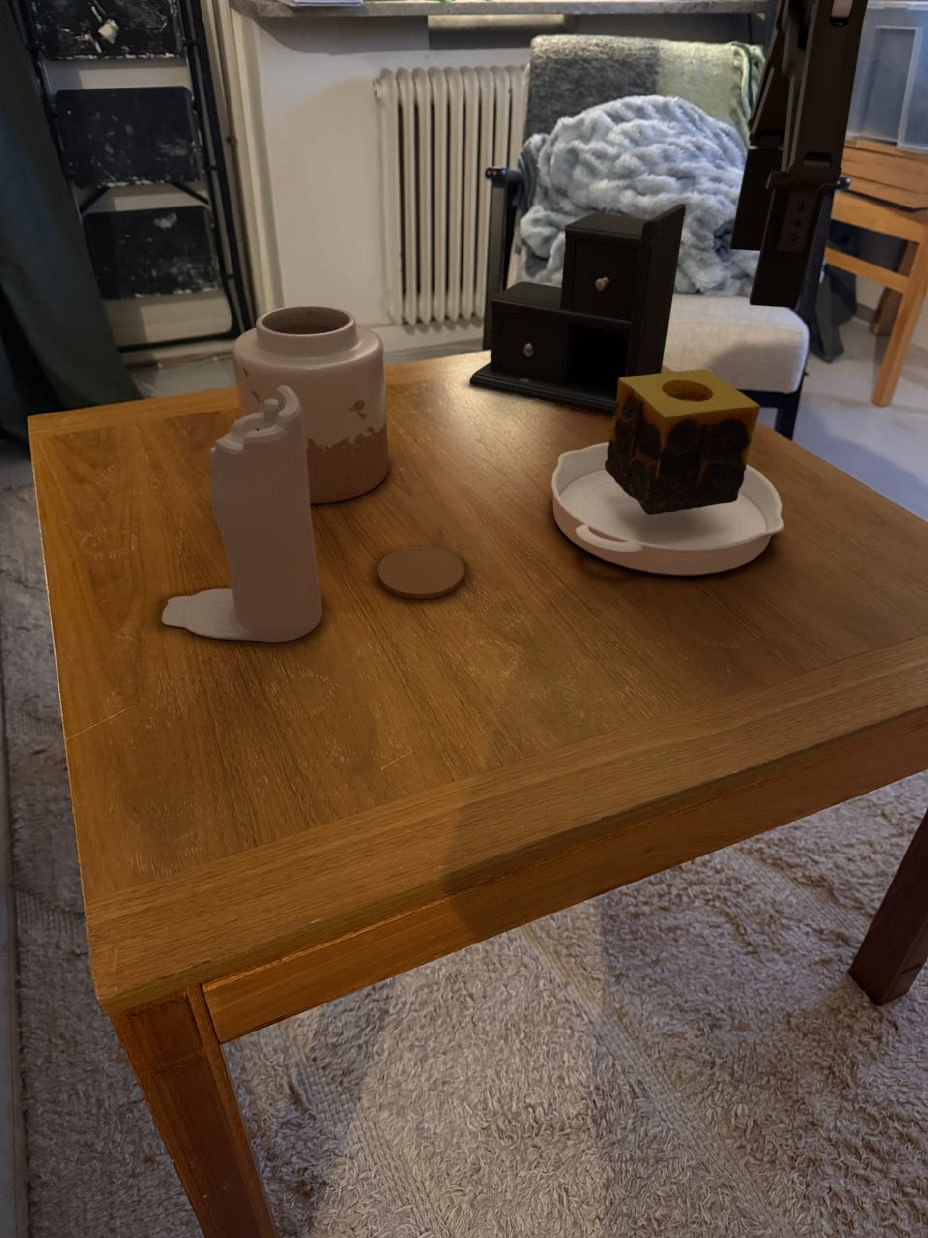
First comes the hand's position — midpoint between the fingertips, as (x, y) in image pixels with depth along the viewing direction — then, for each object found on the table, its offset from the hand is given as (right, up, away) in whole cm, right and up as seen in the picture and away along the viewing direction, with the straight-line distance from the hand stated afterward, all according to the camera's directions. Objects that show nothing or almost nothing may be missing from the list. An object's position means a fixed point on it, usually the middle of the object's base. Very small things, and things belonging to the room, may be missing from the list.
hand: (759, 275), depth 58 cm
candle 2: (-39, -23, +16) cm, 48 cm away
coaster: (-24, -19, +22) cm, 37 cm away
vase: (-36, -7, +38) cm, 52 cm away
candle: (0, -10, +28) cm, 30 cm away
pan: (0, -13, +30) cm, 33 cm away
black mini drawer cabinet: (-7, +7, +58) cm, 58 cm away
